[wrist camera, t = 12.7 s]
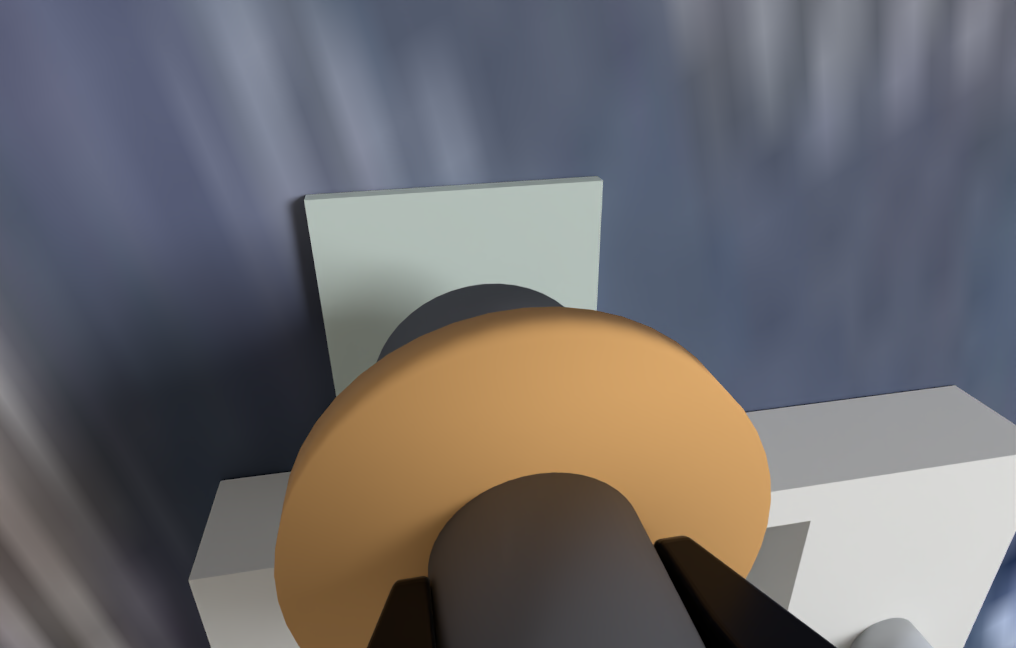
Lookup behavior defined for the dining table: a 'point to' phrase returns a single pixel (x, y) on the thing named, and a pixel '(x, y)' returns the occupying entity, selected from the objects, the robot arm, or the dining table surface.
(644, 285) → the dining table surface
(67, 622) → the dining table surface
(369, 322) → the mat
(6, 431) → the dining table surface
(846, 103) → the dining table surface
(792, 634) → the robot arm
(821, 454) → the power strip
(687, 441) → the plug
